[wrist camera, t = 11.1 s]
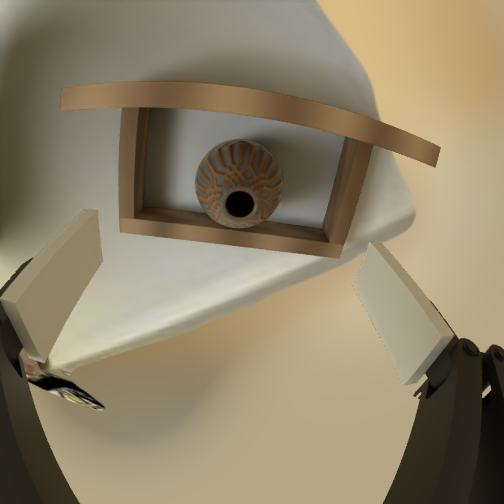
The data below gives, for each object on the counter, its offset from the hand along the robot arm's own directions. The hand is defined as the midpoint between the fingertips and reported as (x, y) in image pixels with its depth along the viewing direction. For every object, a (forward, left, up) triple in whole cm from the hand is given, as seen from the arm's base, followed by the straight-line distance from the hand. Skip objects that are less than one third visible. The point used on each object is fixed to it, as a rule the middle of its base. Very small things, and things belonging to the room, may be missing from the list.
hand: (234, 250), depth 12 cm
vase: (0, 0, -14) cm, 14 cm away
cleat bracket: (0, +1, -14) cm, 14 cm away
